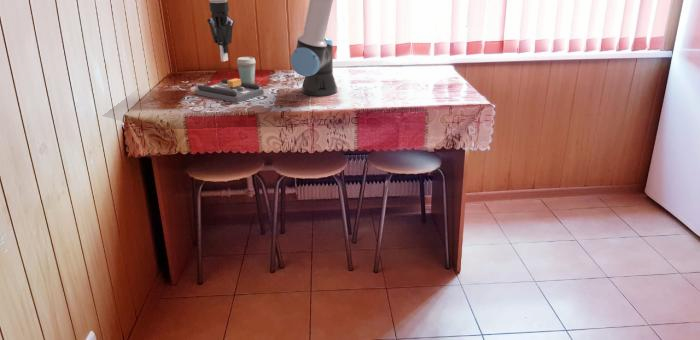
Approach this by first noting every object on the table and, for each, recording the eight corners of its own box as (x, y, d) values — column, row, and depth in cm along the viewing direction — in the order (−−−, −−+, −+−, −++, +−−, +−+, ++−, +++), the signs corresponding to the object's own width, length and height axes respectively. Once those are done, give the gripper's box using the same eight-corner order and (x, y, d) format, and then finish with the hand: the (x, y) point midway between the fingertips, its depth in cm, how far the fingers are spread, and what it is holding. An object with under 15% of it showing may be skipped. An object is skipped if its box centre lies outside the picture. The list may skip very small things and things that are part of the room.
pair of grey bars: (259, 88, 220) (259, 84, 219) (233, 96, 207) (233, 92, 207) (223, 82, 230) (223, 78, 229) (196, 89, 218) (196, 85, 217)
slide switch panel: (263, 93, 220) (263, 86, 219) (237, 102, 207) (237, 94, 206) (222, 86, 231) (221, 79, 230) (195, 94, 219) (194, 86, 218)
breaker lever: (241, 89, 218) (240, 79, 216) (233, 92, 214) (232, 81, 213) (236, 88, 220) (235, 78, 218) (228, 91, 216) (227, 80, 214)
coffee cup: (253, 87, 230) (251, 60, 226) (235, 86, 232) (233, 59, 227) (260, 82, 238) (258, 56, 233) (242, 82, 240) (240, 56, 235)
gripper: (237, 1, 205) (242, 60, 214) (213, 0, 211) (219, 57, 221) (223, 3, 199) (229, 63, 208) (200, 1, 206) (206, 60, 215)
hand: (224, 60), depth 215 cm, fingers closed
